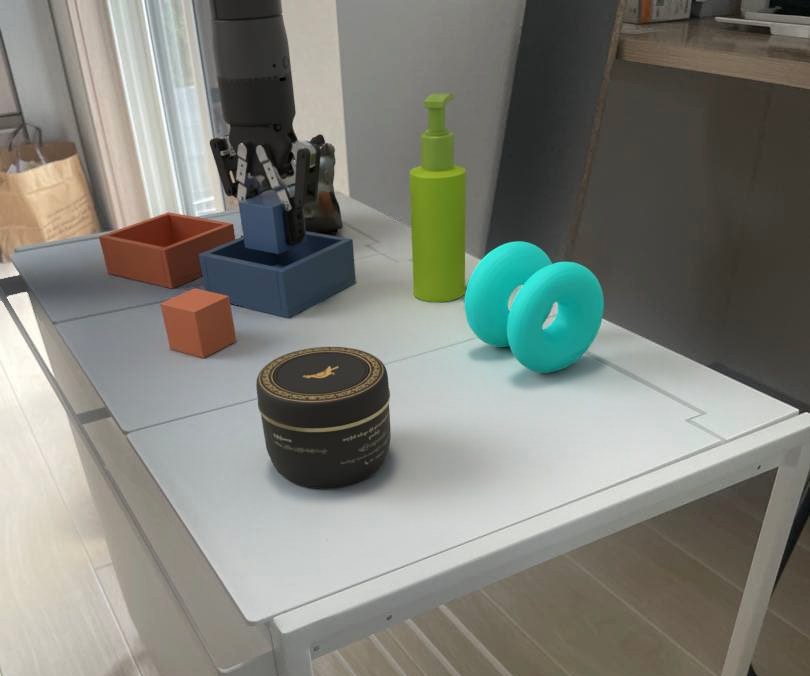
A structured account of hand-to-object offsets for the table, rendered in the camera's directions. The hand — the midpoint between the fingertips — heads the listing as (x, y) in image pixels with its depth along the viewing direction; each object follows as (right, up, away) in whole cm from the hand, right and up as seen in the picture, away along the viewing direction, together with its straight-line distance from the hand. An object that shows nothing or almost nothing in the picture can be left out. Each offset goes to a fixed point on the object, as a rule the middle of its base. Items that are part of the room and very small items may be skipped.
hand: (275, 239), depth 95 cm
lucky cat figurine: (-1, +8, +21) cm, 22 cm away
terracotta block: (-6, -14, -8) cm, 17 cm away
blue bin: (0, -5, +4) cm, 6 cm away
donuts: (+27, -16, -14) cm, 34 cm away
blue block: (0, -1, 0) cm, 1 cm away
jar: (+9, -28, -28) cm, 40 cm away
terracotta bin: (-15, +1, +12) cm, 19 cm away
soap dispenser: (+19, -6, +2) cm, 20 cm away
